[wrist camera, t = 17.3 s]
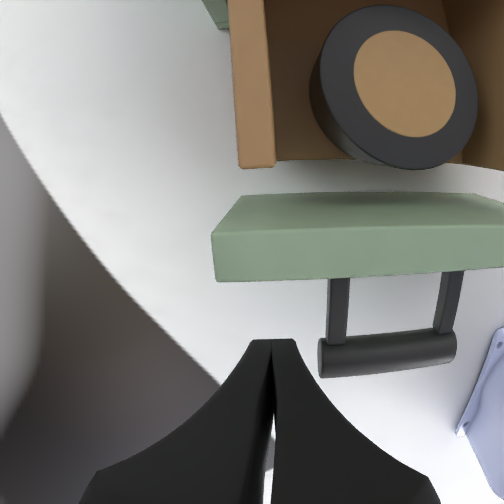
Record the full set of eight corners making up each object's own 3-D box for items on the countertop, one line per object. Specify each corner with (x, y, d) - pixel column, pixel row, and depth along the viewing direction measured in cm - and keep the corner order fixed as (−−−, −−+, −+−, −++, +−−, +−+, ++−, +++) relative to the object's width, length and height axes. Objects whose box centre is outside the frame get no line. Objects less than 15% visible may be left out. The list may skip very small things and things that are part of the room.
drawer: (459, 309, 13) (520, 378, 8) (249, 323, 14) (233, 418, 9) (444, -29, 8) (501, -80, 2) (224, -47, 9) (195, -127, 3)
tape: (439, 166, 10) (482, 174, 7) (312, 164, 11) (325, 169, 8) (428, 43, 9) (466, 20, 6) (302, 32, 9) (309, -3, 6)
